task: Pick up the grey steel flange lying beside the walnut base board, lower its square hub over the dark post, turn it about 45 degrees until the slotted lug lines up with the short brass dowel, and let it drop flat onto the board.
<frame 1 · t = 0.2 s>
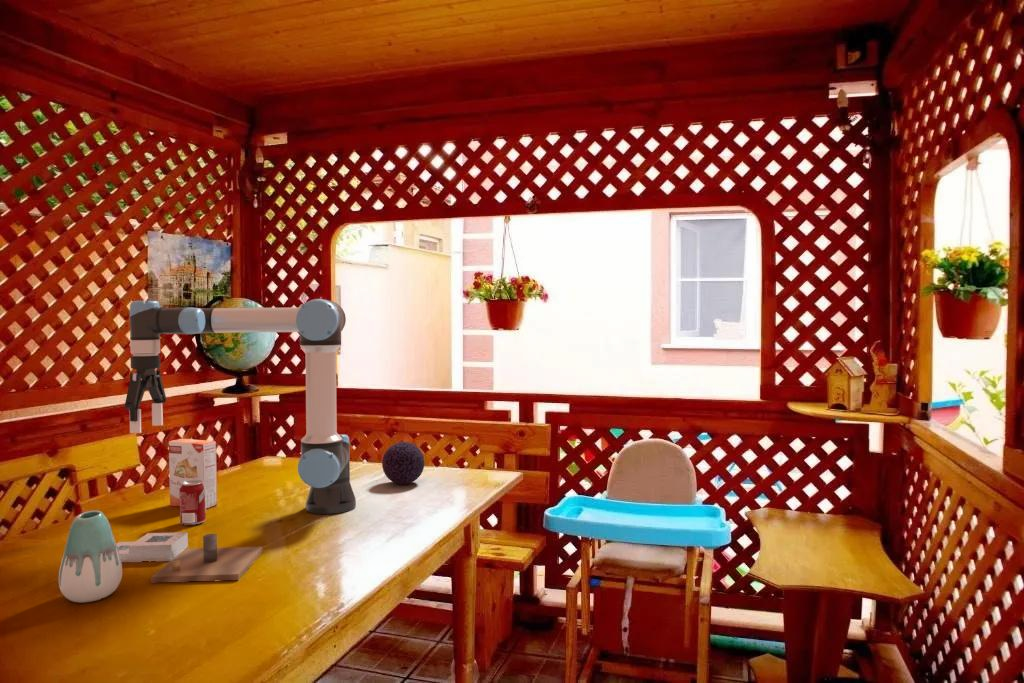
hand: (147, 429, 197), 28 cm above the table, tool pointing down, fingers open, 13 cm apart
vase: (91, 597, 147), on the table
cracker box: (193, 506, 219), on the table
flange: (159, 554, 173), on the table
toy ball: (403, 484, 247), on the table
post base: (210, 566, 165), on the table
soda can: (193, 523, 200), on the table
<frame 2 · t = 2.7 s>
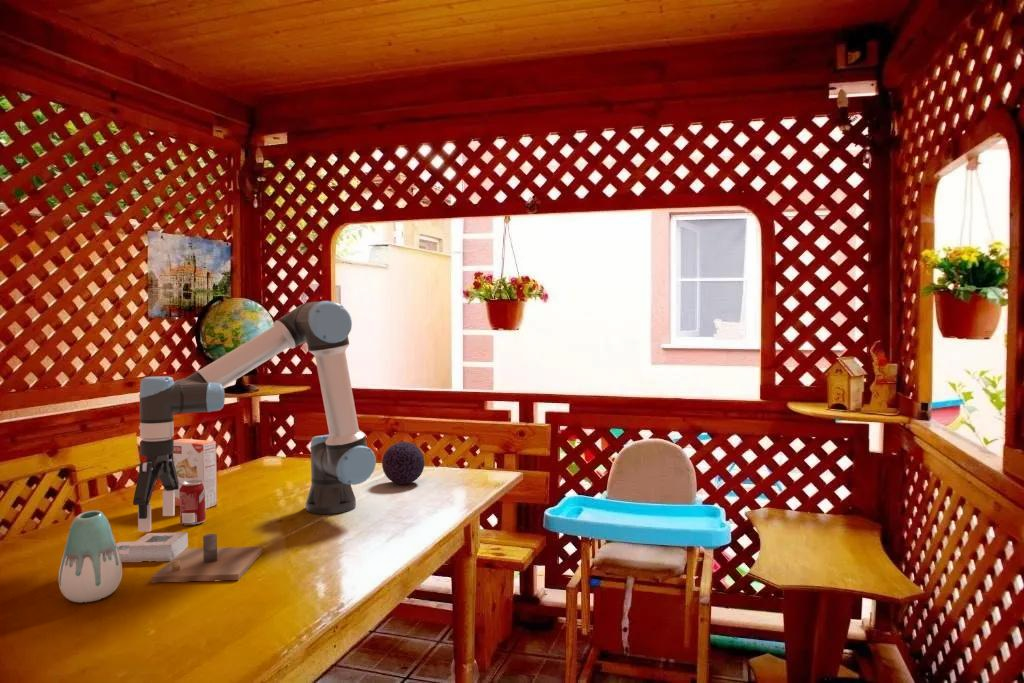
hand: (157, 523, 173), 8 cm above the table, tool pointing down, fingers open, 13 cm apart
nothing on the table moved.
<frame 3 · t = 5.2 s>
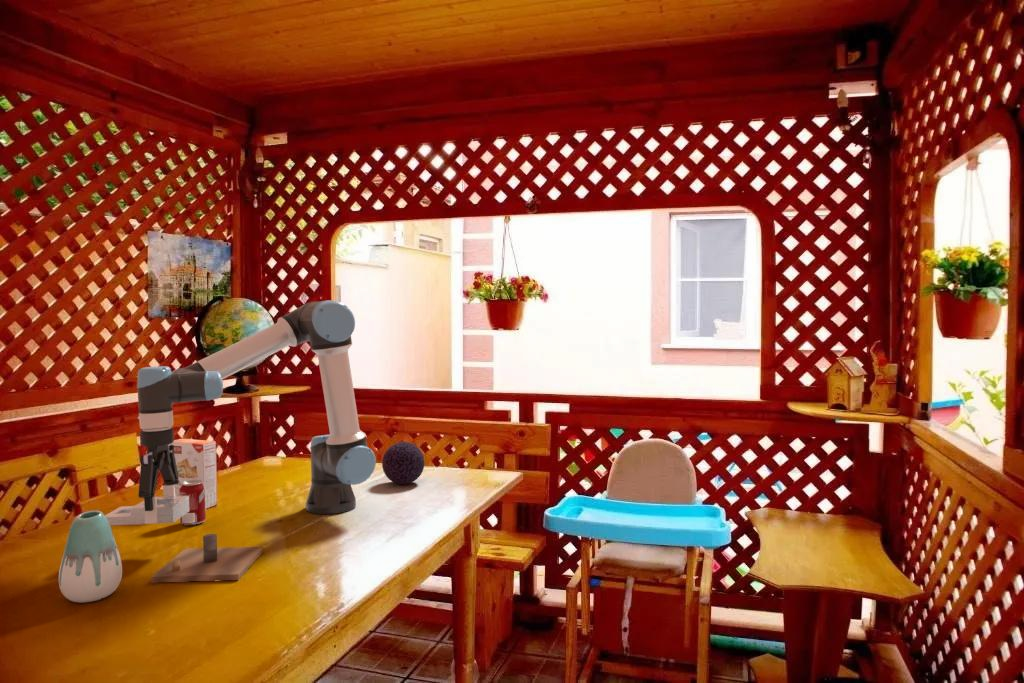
hand: (160, 516, 173), 10 cm above the table, tool pointing down, fingers closed on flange, 10 cm apart
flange: (161, 517, 173), point 9 cm above the table, touching gripper
everything else where it was.
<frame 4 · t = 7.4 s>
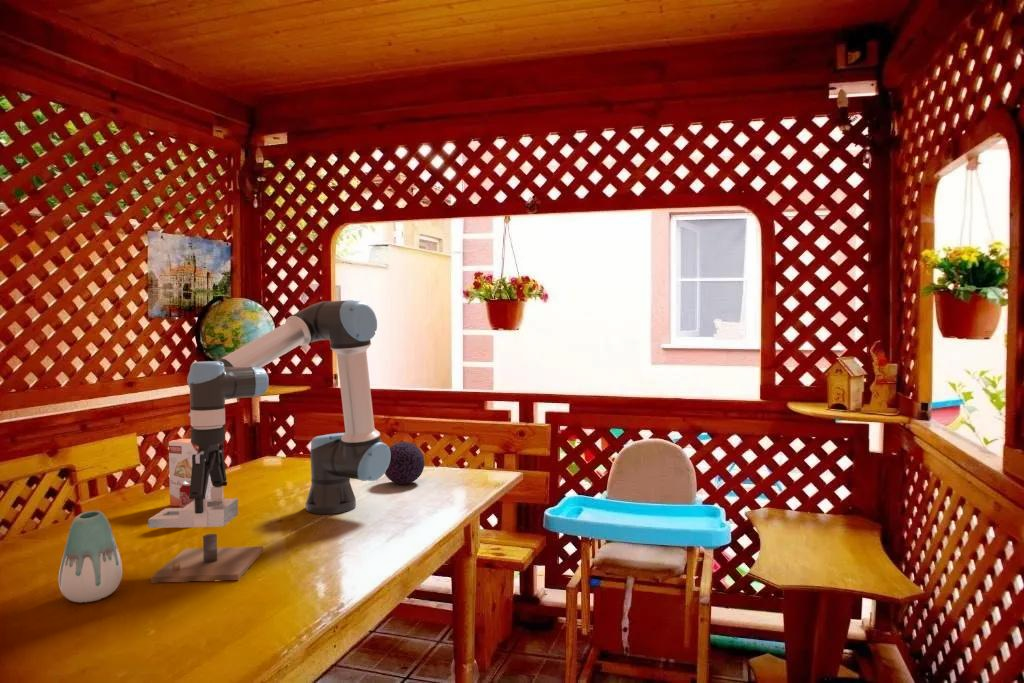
hand: (209, 519, 164), 11 cm above the table, tool pointing down, fingers closed on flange, 10 cm apart
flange: (209, 520, 164), point 11 cm above the table, touching gripper
everything else where it was.
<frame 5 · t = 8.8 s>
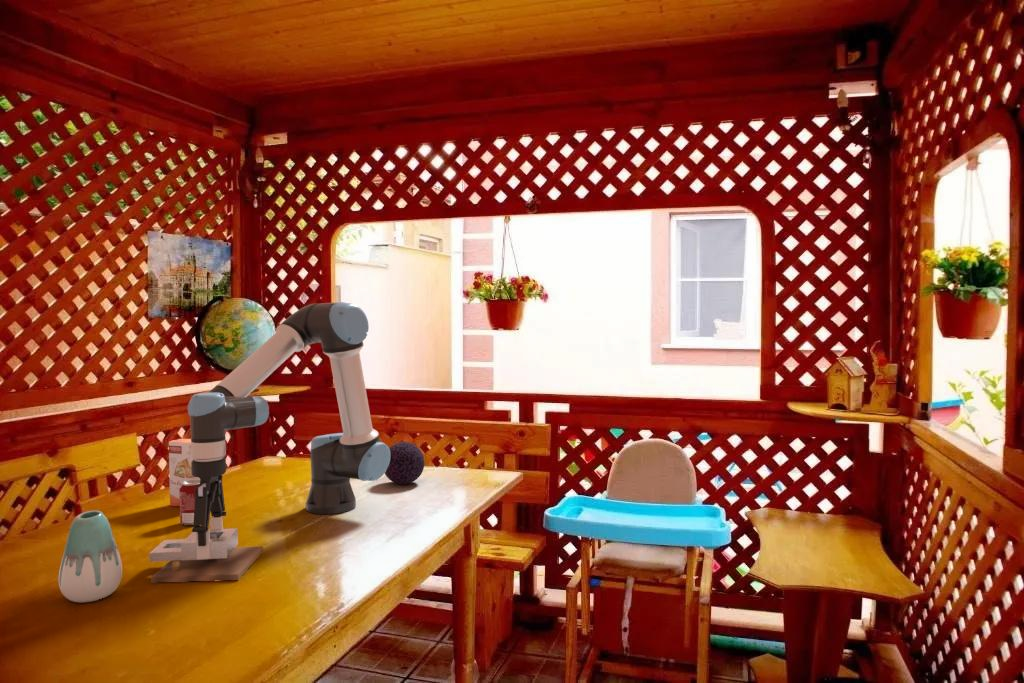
hand: (210, 551, 164), 4 cm above the table, tool pointing down, fingers closed on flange, 10 cm apart
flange: (210, 552, 164), point 4 cm above the table, touching gripper
everything else where it was.
when the fingers open (3 cm above the table, at t = 9.9 s): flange drops 1 cm, resting on post base.
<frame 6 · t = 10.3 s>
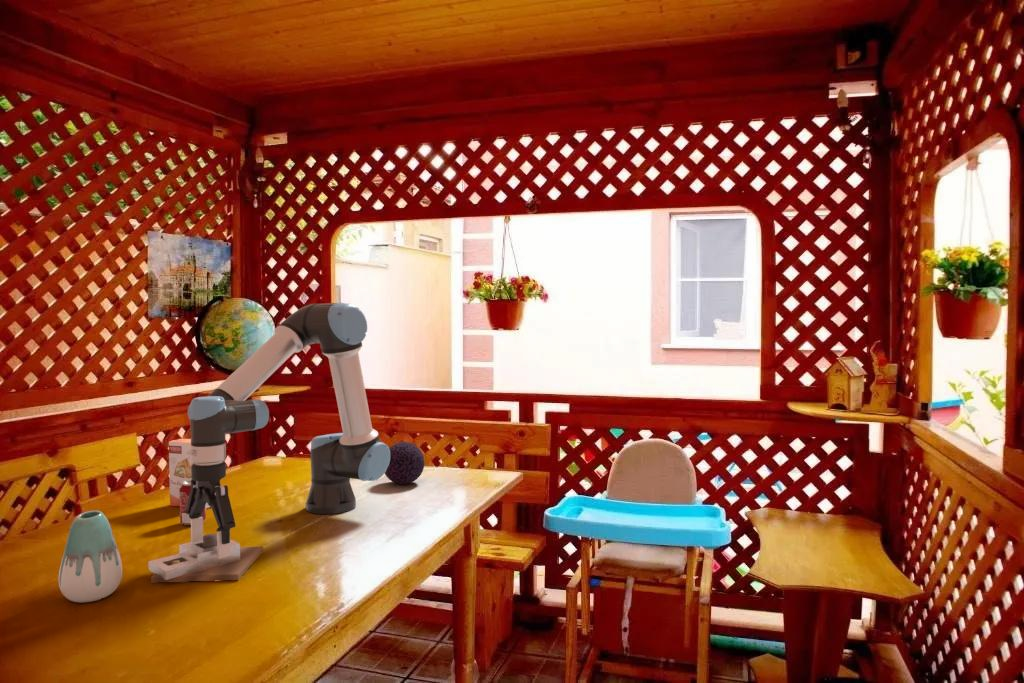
hand: (210, 550, 164), 4 cm above the table, tool pointing down, fingers open, 13 cm apart
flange: (209, 560, 164), point 1 cm above the table, touching post base
everything else where it was.
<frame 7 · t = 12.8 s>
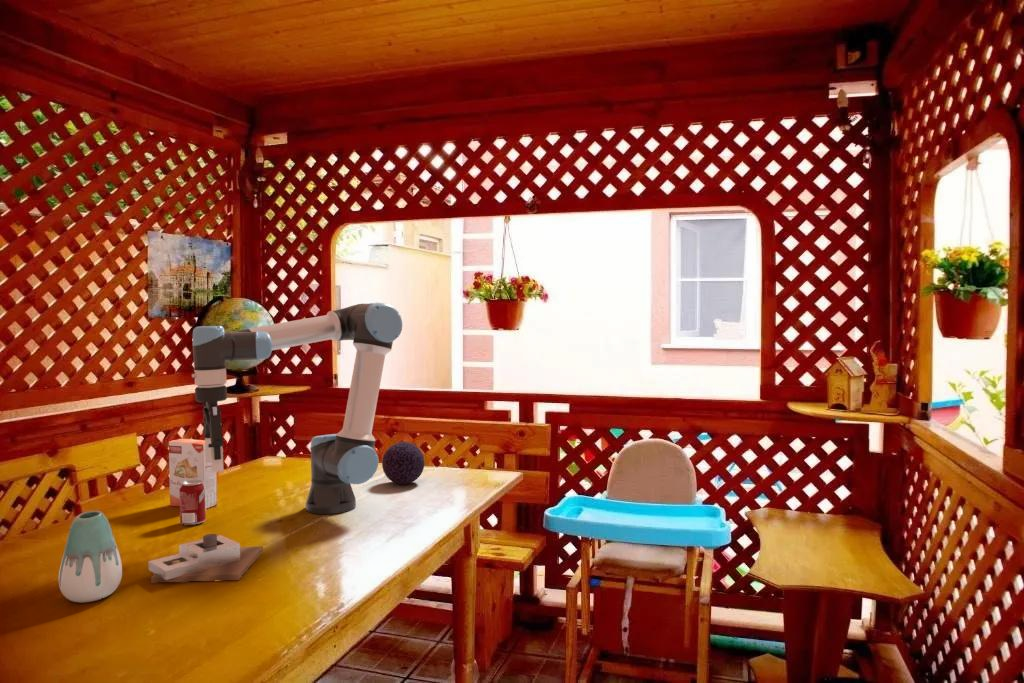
hand: (214, 467, 180), 21 cm above the table, tool pointing down, fingers open, 13 cm apart
nothing on the table moved.
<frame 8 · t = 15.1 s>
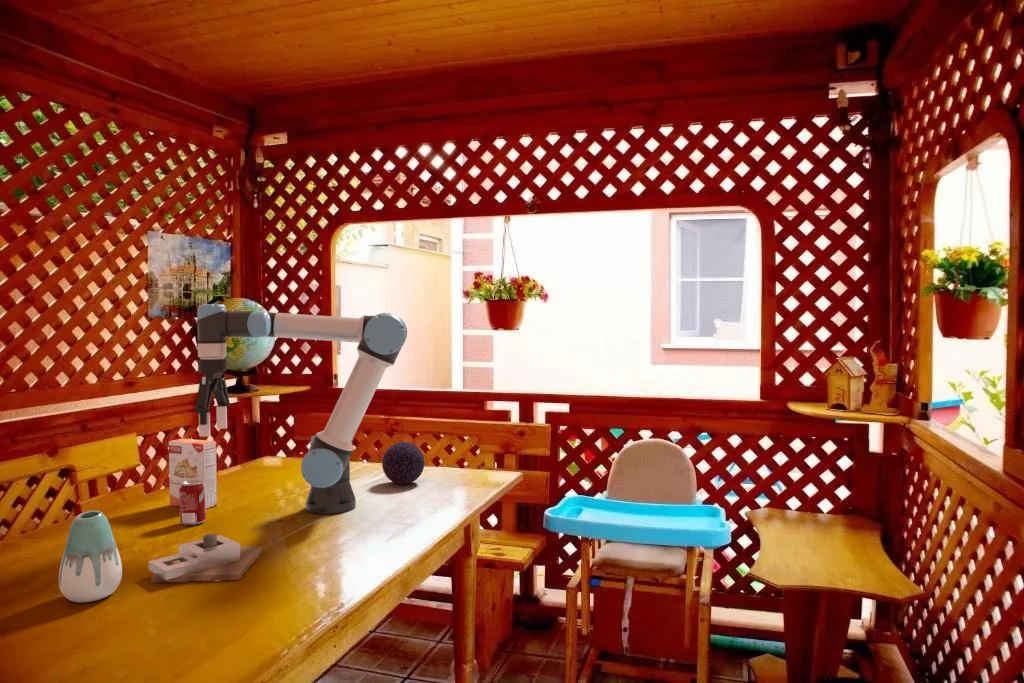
hand: (213, 432, 198), 27 cm above the table, tool pointing down, fingers open, 13 cm apart
nothing on the table moved.
at the end: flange point 1.5 cm above the table; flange 0.1 cm from the post base (horizontally); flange tilted 0° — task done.
